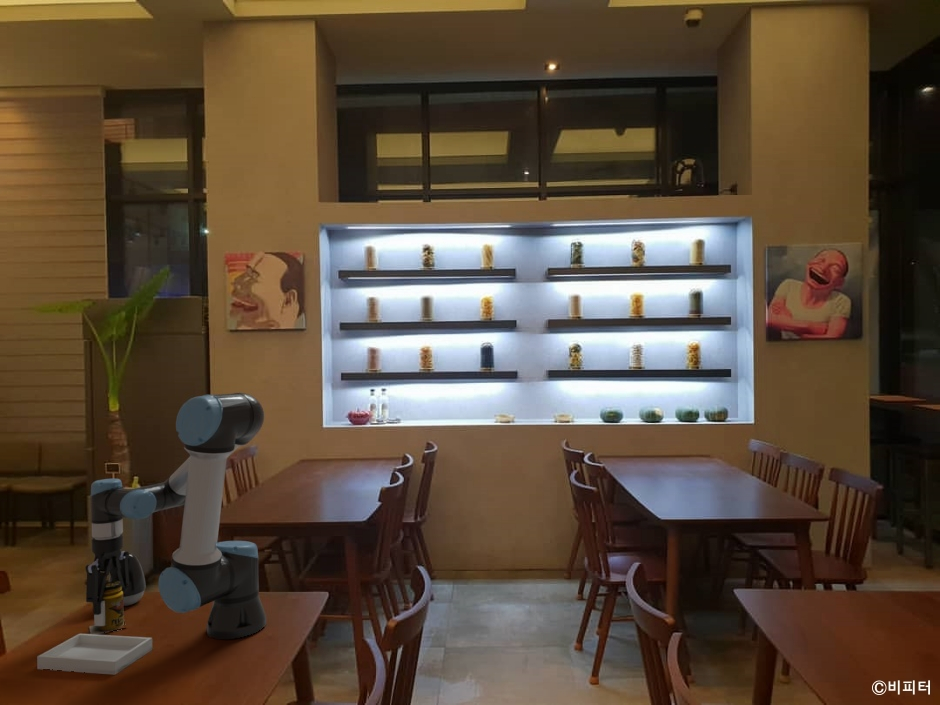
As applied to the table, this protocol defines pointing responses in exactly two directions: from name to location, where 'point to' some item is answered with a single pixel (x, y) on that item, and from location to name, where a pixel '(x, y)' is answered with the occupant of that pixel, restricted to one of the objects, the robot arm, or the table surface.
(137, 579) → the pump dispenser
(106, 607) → the condiment
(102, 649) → the white tray
